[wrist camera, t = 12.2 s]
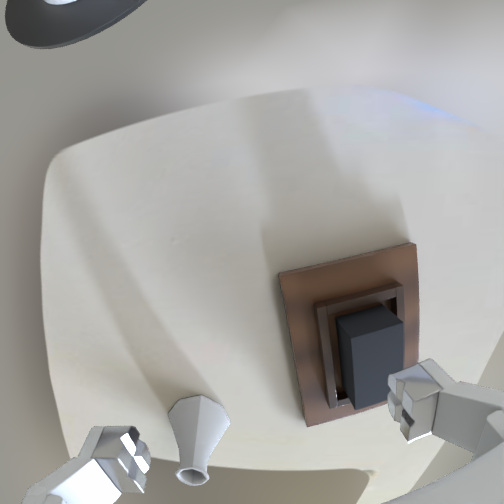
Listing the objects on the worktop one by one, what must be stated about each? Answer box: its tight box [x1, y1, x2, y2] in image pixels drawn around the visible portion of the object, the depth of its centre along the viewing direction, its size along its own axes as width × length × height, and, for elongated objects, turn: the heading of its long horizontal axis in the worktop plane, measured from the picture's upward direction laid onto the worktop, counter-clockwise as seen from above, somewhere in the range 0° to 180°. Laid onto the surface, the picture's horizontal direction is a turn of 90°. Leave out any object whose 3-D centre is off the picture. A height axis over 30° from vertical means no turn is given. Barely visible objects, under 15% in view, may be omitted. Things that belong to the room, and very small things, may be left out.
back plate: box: [279, 242, 419, 427], centre depth 33 cm, size 20×15×3 cm
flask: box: [168, 395, 231, 486], centre depth 30 cm, size 7×7×10 cm
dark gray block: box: [335, 305, 404, 410], centre depth 30 cm, size 9×6×5 cm, turn 12°
